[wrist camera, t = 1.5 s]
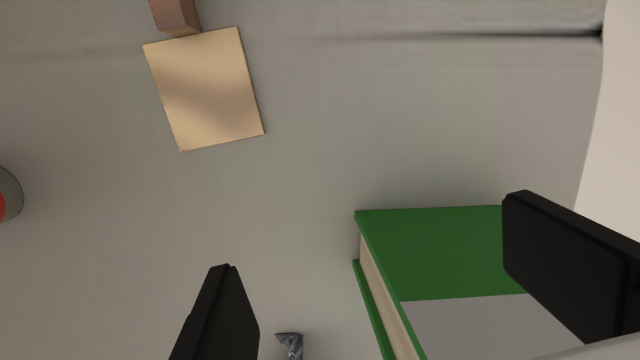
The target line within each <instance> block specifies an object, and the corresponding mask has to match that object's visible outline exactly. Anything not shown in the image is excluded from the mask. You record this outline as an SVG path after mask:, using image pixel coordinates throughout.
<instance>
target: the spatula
mask: <svg viewBox="0 0 640 360" xmlns="http://www.w3.org/2000/svg"><path fill="white" fill-rule="evenodd" d="M148 1H149V4H150V7H151V10H152V13H153V16H154V19H155V22H156V25H157V28H158V30H159V31H161V32H164V33H167V34H169V35H172V36H175V37H177V38H174V39H169V40H164V41H159V42H154V43H149V44H144V45H142V47H143V50H144V53H145V56H146V58H147V61H148V64H149V67H150V70H151V72H152V75H153V78H154V81H155V84H156V86H157V89H158V92H159V95H160V98H161V100H162V103H163V106H164V109H165V112H166V114H167V117H168V120H169V123H170V126H171V128H172V131H173V134H174V137H175V140H176V142H177V145H178V148H179V151H180V152H184V151H188V150H193V149H198V148H203V147H207V146H212V145H217V144H222V143H226V142H231V141H236V140H241V139H245V138H250V137H255V136H260V135H264V134H265V132H264V128H263V124H262V120H261V116H260V113H259V109H258V105H257V101H256V97H255V93H254V89H253V85H252V81H251V78H250V74H249V70H248V66H247V62H246V58H245V54H244V50H243V46H242V42H241V39H240V35H239V31H238V27H237V26H234V27H229V28H224V29H219V30H214V31H209V32H204V33H203V32H202V29H201V26H200V22H199V19H198V15H197V12H196V8H195V5H194V2H193V0H148Z"/></svg>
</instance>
